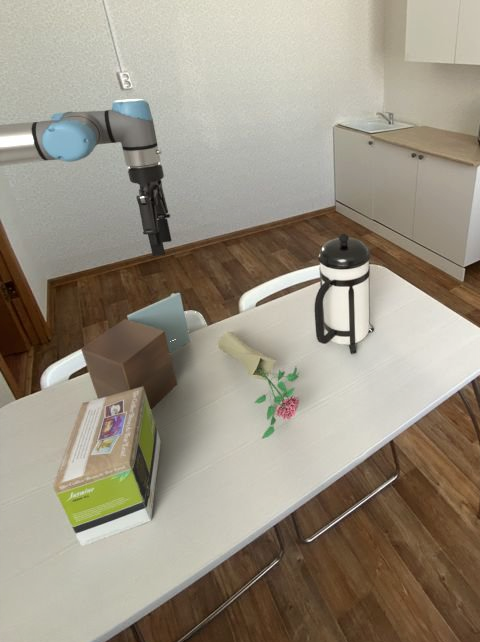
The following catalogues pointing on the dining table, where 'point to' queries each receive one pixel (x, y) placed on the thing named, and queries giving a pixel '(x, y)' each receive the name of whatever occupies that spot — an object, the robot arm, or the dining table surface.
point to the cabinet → (130, 361)
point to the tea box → (110, 466)
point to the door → (165, 320)
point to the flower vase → (262, 376)
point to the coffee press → (343, 292)
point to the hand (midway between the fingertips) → (162, 247)
